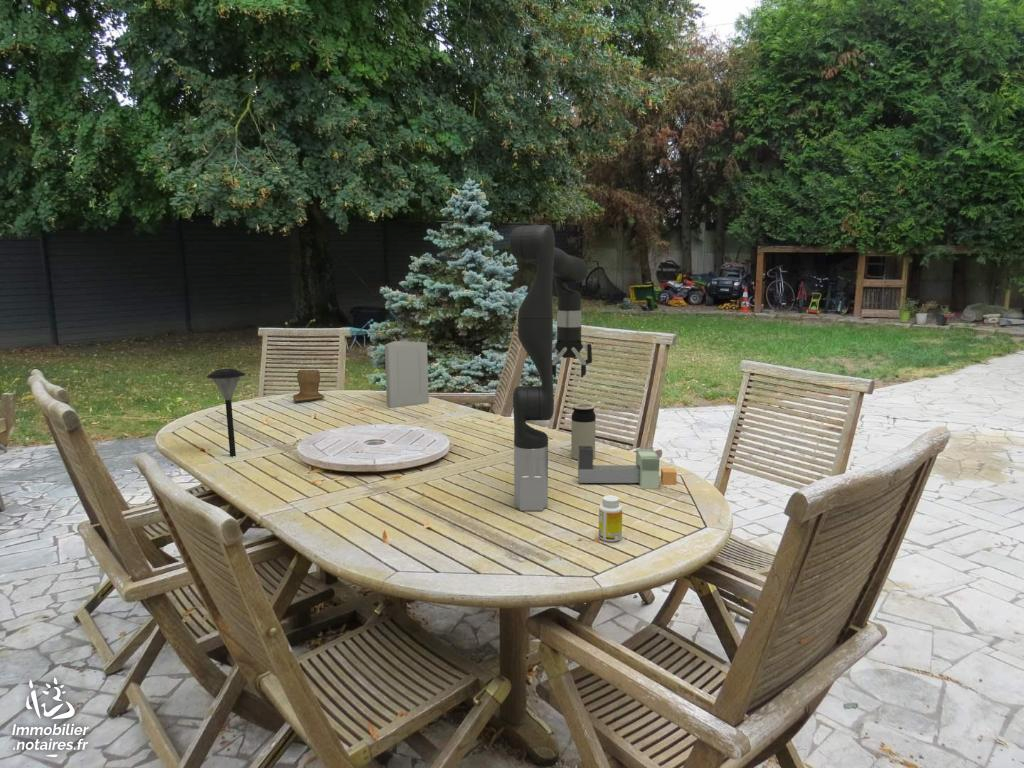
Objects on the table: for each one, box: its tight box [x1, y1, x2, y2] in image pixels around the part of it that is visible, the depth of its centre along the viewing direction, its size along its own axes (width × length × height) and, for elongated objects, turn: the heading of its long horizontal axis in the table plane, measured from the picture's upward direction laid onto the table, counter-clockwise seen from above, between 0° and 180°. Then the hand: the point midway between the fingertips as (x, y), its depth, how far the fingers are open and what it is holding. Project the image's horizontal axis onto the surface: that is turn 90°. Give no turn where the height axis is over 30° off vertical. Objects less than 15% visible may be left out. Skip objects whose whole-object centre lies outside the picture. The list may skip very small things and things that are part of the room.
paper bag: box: [384, 340, 430, 409], centre depth 317 cm, size 19×15×28 cm
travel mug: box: [570, 402, 597, 460], centre depth 231 cm, size 8×8×18 cm
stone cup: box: [292, 369, 325, 403], centre depth 325 cm, size 15×12×15 cm
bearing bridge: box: [635, 448, 660, 490], centre depth 206 cm, size 11×5×9 cm, turn 179°
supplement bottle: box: [598, 494, 623, 543], centre depth 166 cm, size 6×6×10 cm
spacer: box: [660, 467, 678, 486], centre depth 207 cm, size 4×4×4 cm
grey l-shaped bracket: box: [577, 446, 640, 484], centre depth 206 cm, size 4×22×10 cm, turn 89°
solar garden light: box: [206, 368, 246, 457], centre depth 233 cm, size 12×12×30 cm
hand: (568, 376), depth 214 cm, fingers open, 8 cm apart
